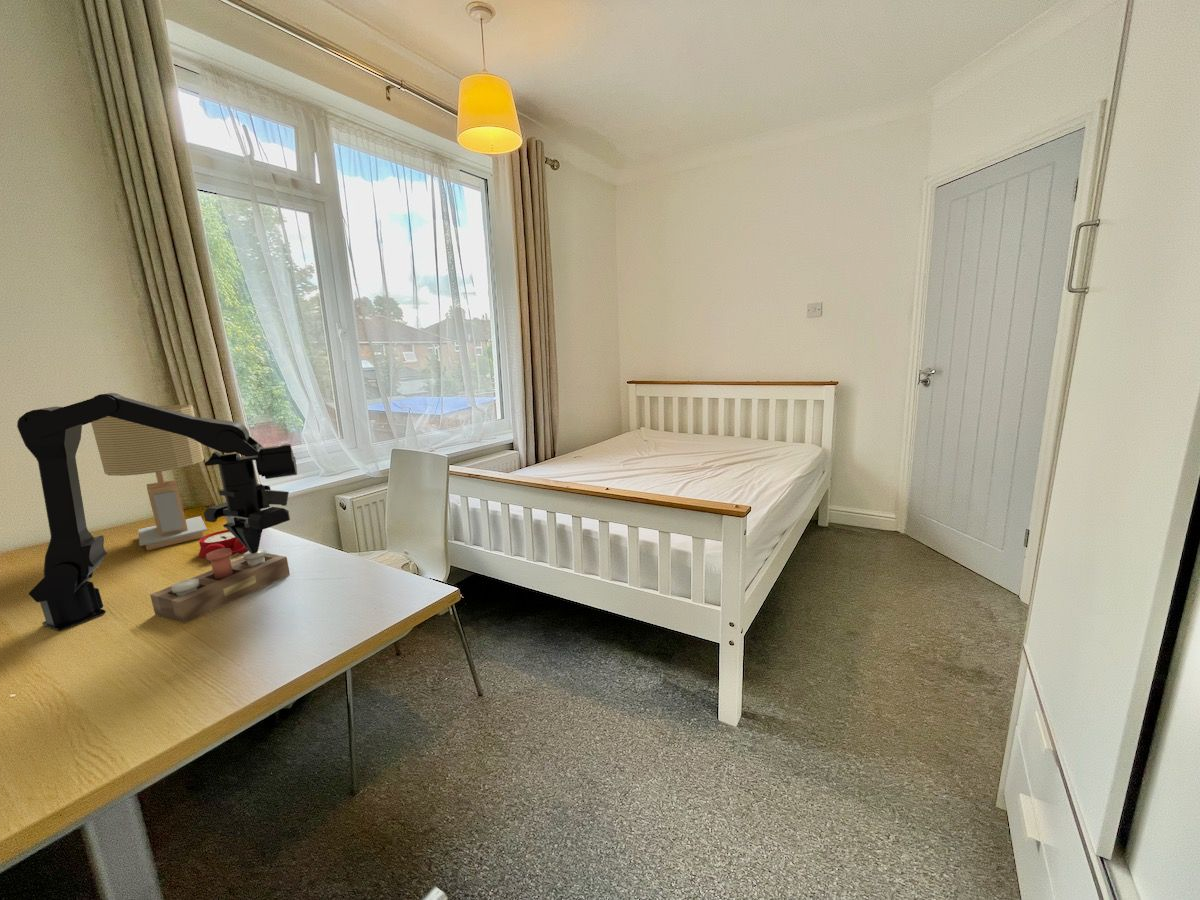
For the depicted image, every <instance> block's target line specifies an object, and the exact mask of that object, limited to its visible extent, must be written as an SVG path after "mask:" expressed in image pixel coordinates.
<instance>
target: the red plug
mask: <svg viewBox="0 0 1200 900" xmlns="http://www.w3.org/2000/svg"><path fill="white" fill-rule="evenodd" d="M231 555H233V554H232V552H231V549H230V548H223V549H217V550H214V551H211V552H209V553H207V554H206V558H207V559H206V558H205V559H206V560H207V561H208V562H209V561H210V566H211V570H213V574H214V578H215V579H222V578H226V577H229V576H231V575H232V574H233V571H232V566H231V562H232V561H231V559H230V556H231Z"/></svg>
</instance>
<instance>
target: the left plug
mask: <svg viewBox="0 0 1200 900" xmlns="http://www.w3.org/2000/svg"><path fill="white" fill-rule="evenodd" d="M199 585H200V584H199V580H198V579H191V578H189V579H184V580H181V581H179V582H176V583H174V584H172V585H171V586H172V587H171V589H172V593H176V594H177V596H179V597H181V596H183V595H185V594H188V593H190V592H193V591H195V590H197V587H198V586H199Z"/></svg>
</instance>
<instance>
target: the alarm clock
mask: <svg viewBox="0 0 1200 900" xmlns="http://www.w3.org/2000/svg"><path fill="white" fill-rule="evenodd" d="M198 543H199V547H200V548H199V552H198V557H199V558H201V559H206V560H207V558H206V554H207V553H209V552H211V551H214V550H217V549H223V548H230V549H231V552H232V554H231V555H235V554H244V553H246V552H248V550H247V549H246V548H245V547H244V545H243V544H242V543H241V542H240V541H239V540H238V539H237V538H236V537H235V536H234V535H233V534H232V533H231V532H230V531H229V530H228V529H224V530H220V531H215V532H213V533H209V534H207V535H205V536H204V535H203V537H202V538H199V542H198Z"/></svg>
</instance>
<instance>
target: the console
mask: <svg viewBox="0 0 1200 900" xmlns="http://www.w3.org/2000/svg"><path fill="white" fill-rule="evenodd" d="M266 553H267V554H266V555H265V556H264V558H265V561H264V562H262V563H260V564H257V565H255V566H248V562H247V560H244V557H242V558H239V559H236V560H234V561H230V562H231V566H232V571H233V574H232V575H231V576H229V577H226V578H222V579H215V578H214V574H213V570H212V569H211V570H208V571H206V572H203V573H201V574H199V575H196V576H193V577H191V578H190V579H198V580H199V584H200V585H199V586H198V587H197V590H195V591H193V592H190V593H188V594H185V595H183V596H181V597H179V596H177V594H176V593H172V589H171V587H172V585H171V586H168V587H166V588H163V589H160V590H158V591H156V592H153V593H151V594H149V596H150V597H149V598H150V601H151V604H152V608H153V611H154V615H156V616H158V617H162V618H165V619H169V620H172V621H175V622H179V623H182V624H186V623H189V622H190V621H192V620H195V619H197V618H199V617H201V616H203V615H206V614H207V613H210V612H212V611H214V610H216V609H218V608H221V607H223V606H225V605H228V604H229V603H232V602H233V601H236V600H238V599H240V598H242V597H244V596H247V595H249V594H252V593H253V592H254V591H257V590H259V589H261V588H263V587H264V588H265V586H268V585H270V584H272V583H274V582H277V581H279V580H281V579H283V578H286V577H288V576H290V574H291V573H290V568H289V562H288V558H287V556H285V555H284V556H283V555H280V554H279V555H278V554H274V553H269V552H266Z"/></svg>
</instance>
